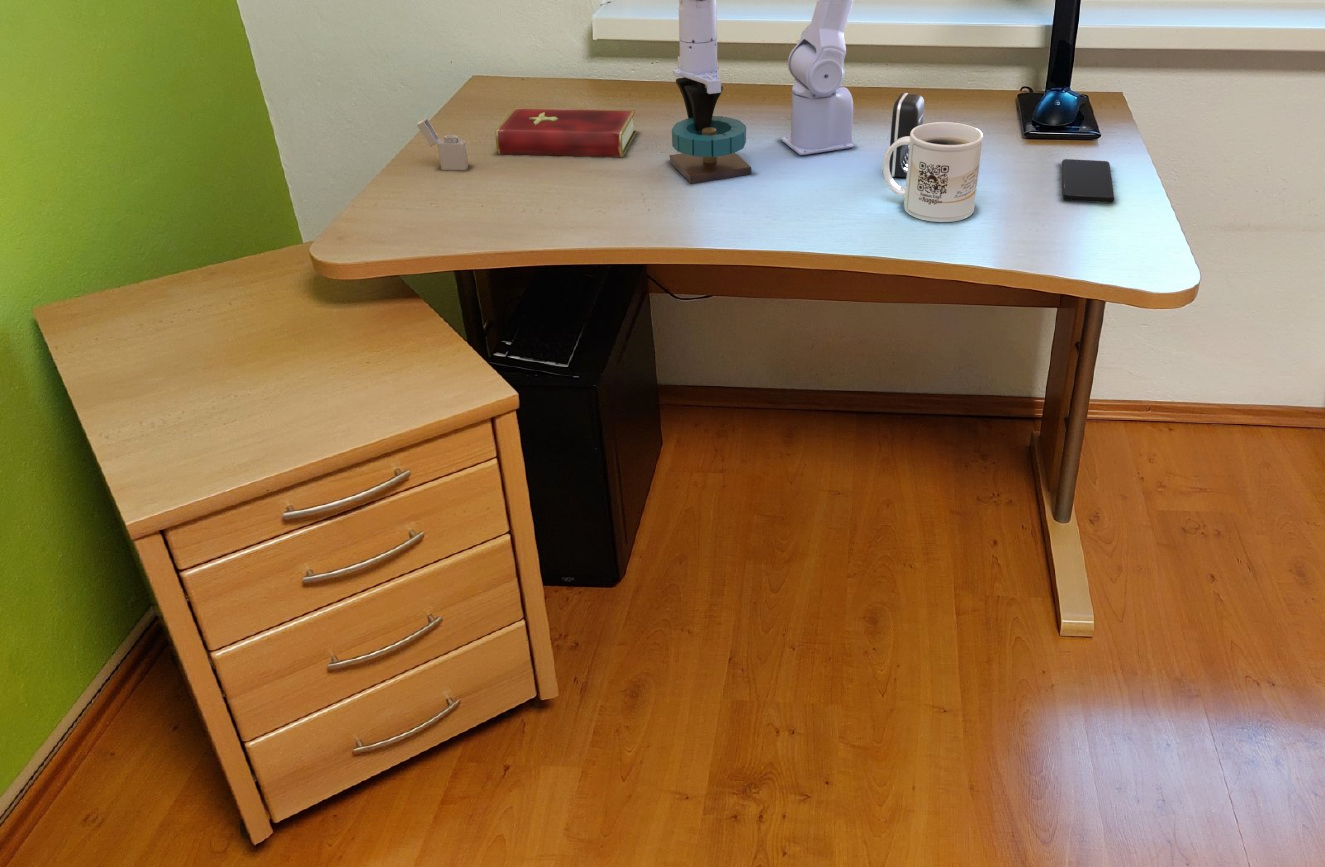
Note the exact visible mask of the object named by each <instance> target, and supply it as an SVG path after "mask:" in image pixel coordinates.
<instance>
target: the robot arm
mask: <svg viewBox="0 0 1325 867" xmlns="http://www.w3.org/2000/svg"><path fill="white" fill-rule="evenodd" d="M854 1H855V0H816V3H815V7H814V10H813V14H812V18H811V20H810V23H809V24H808V26H806V27H805V28H804V29H803V30H802V32H801V34H800V38H799V40H798V41H797V44H796V45H795V46H794V47H793V48H792V50H791V51H790V52H789V56H788V59H787V67H788V68H787V69H788V71H789V73H790V74H791V76H792V77H793V78H794V82H793V85H792V88H791V115H790V116H791V120H790V122H791V123H790V135H789V136H783V137H781V141H782V142H783V143H784V144H785V145H786V146H788V147H789V148H790V149H792V150H793V151H794V152H795V153H797V154H798V155H799V156H807V155H813V154H820V153H825V152H831V151H833V152H834V151H839V150H845V149H851V148H854V143H852V141H853V123H854V101H853V100H854V99H853V96H852V94H851V92H850V90H849V89H848V88H847V87H845V86H842V85H843V82H844V80H845V75H846V74H845V71H846V70H845V64H844V62H845V58H846V54H847V46H846V41H845V29H846V27H847V23H848V21H849V16H850V14H851V11H852V7H853V4H854ZM678 39H679V55H678V56H677V68H673V69H672V75H673V76H675V77H678V78H676V79H675V83H676V85H677V87H678V89H679V91H680V93H681V96H682V98H683V102H684V106H685V110H686V116H687V119H689V118H694V124H695V128H696V130H697V131H701V130H703V129H704V128H709V127H710V125H711V121H712V116H714V112H715V108H716V105H717V102H718V100H719V98H720V96H721V94H722V93H723V89H724V86H723V85H722V79H721V78H720V71H719V66H718V6H717V0H678Z"/></svg>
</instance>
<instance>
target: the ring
mask: <svg viewBox="0 0 1325 867" xmlns="http://www.w3.org/2000/svg"><path fill="white" fill-rule="evenodd" d="M710 127H711V128H715V129H716V130H717V135H702V130H701V131H697V130H696V128H695V124H694V118H689V119H688V118H685V119H682V120H680V121H677V122H676V123H674V125H673V127H672V128H671V146H672V148H673V149H674V150H675V151H676V152H678V153H679V154H681V153H684V154H687V155H691V156H693V155H694V156H698V157H712V156H713V157H716V156H723V155H730V154H733V153H737V152H739V151H742V150H743V149H745V147H746V143H747V125H746V124H745V123H743V122H742V121H741V120H739V119H736V118H732V117H728V116H720V115H713V116H712V121H711V125H710Z"/></svg>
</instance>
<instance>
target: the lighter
mask: <svg viewBox="0 0 1325 867" xmlns="http://www.w3.org/2000/svg"><path fill="white" fill-rule="evenodd" d="M416 127H417V128H418V129H419V131H420V133H421V134H422V136H423V138H424V139H425V141H426V142H427V144H428V146H429V147H433V146H435V145H437V149H438V156H439V163H440V170H442V171H467V169H468V168H469V160H468V159H469V158H468V152H467V146H466V144H467V143H466V140H464V139H463V140H462V139H461V140H460V137H458V136H457V135H456V134H445V135H444V136H443V139H441V138H440V137H439V135H438V134H437V131H436V130H435V129H434V127H433V125H432V123H431V122H430V121H429V119H428V117H423V118H421V119H420V120H418V121H417V123H416Z"/></svg>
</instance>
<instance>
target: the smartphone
mask: <svg viewBox="0 0 1325 867" xmlns="http://www.w3.org/2000/svg"><path fill="white" fill-rule="evenodd" d="M1112 178H1113V177H1112V170H1111V165H1110V162H1109V161H1107V160H1094V159H1093V160H1091V159H1073V158H1065V159H1062V161H1061V179H1062V180H1061V182H1062V198H1063V200H1065V201H1075V202H1089V203H1090V202H1093V203H1113V202H1114V201H1115V195H1114V186H1113V179H1112Z"/></svg>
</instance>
